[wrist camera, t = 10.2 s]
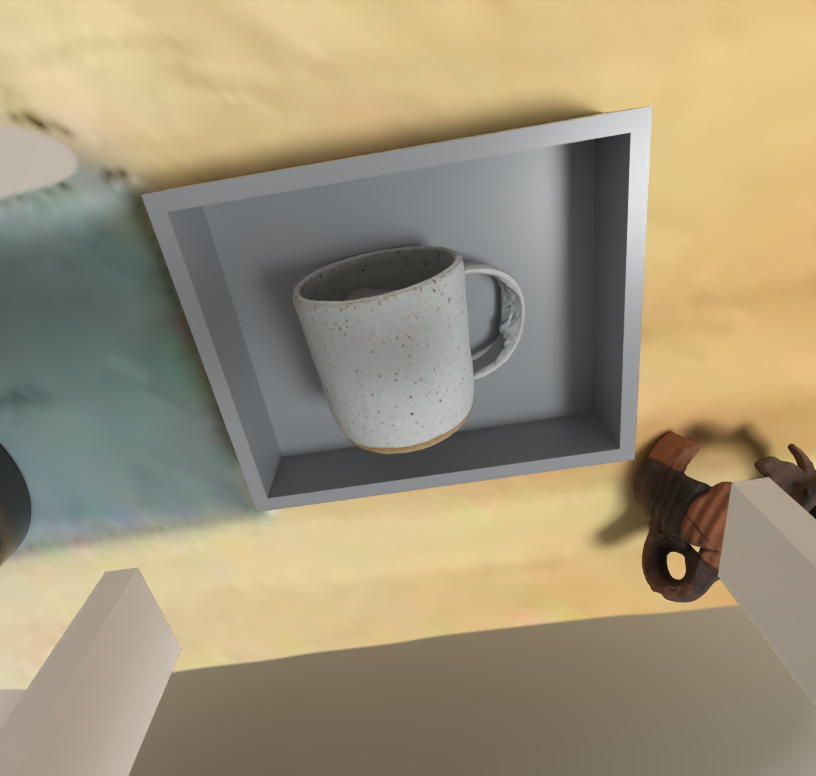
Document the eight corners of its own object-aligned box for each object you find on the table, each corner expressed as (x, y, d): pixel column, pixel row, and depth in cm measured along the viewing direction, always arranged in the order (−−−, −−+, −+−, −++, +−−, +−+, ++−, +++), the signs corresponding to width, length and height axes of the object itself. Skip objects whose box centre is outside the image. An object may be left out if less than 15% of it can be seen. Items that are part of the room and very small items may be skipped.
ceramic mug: (345, 403, 29) (333, 483, 23) (304, 265, 26) (274, 309, 19) (525, 366, 29) (569, 437, 22) (508, 220, 25) (554, 249, 18)
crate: (276, 460, 32) (257, 511, 28) (186, 185, 25) (141, 194, 21) (600, 413, 31) (634, 459, 27) (604, 112, 24) (652, 106, 20)
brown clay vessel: (687, 385, 31) (842, 454, 25) (726, 426, 37) (857, 490, 31) (578, 542, 33) (700, 645, 27) (634, 557, 39) (742, 642, 33)
